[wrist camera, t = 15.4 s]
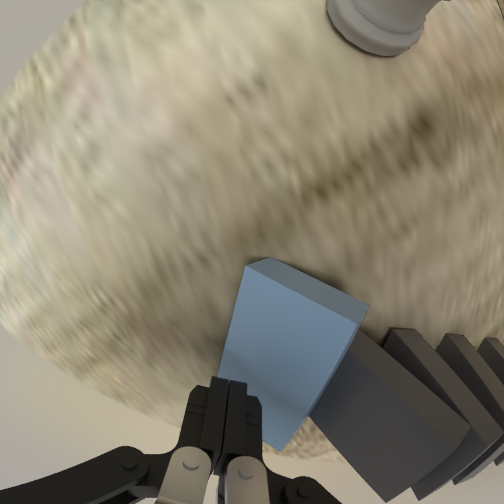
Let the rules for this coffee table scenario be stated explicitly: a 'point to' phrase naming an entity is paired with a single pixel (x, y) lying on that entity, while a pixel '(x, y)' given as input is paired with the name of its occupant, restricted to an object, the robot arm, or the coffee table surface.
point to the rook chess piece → (380, 23)
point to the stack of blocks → (501, 5)
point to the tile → (287, 343)
